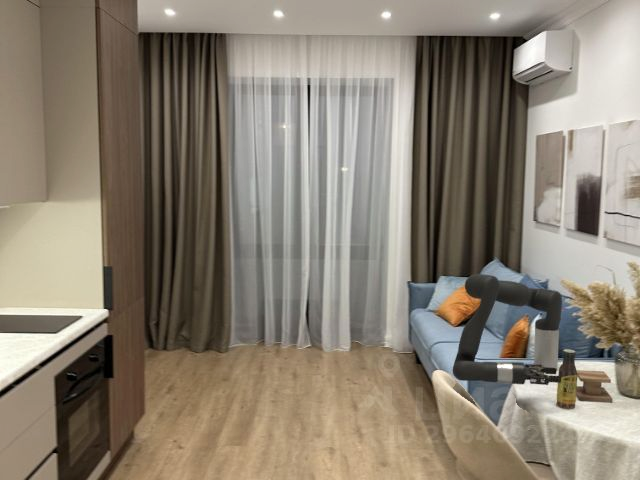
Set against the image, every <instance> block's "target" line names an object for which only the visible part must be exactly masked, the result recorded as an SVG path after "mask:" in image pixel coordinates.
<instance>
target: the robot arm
mask: <svg viewBox="0 0 640 480" xmlns="http://www.w3.org/2000/svg"><path fill="white" fill-rule="evenodd" d="M464 288H465V293H466V294H467V295H468V296H469V297H471V298H472V299H476V300H480V303H479V306H478V307H477V309H476V311H475V313H474V314H473V315H472V317H471V318H470V319H469V320H468V321H467V322H466V323H465V325H464V327H463V329H462V331H461V336H460V338H459V344H458V350H457V353H456V355H455V359H454V363H453V367H452V374H453V376H454V378H455V379H457V380H459V381H463V382H466V381H467V382H472V381H473V382H475V381H476V382H477V381H478V382H479V381H481V382H485V383H499V384H506V385H507V384H511V385H525V382H526V381H529V384H530V385H543V386H548V385H549V384H550V383H557V384H558V383H560V382H561V376H558V375H556V374H557V371H558V367H559V366H558V361H559V337H560V336H559V333H560V331H559V330H560V329H559V328H560V323H561V319H562V307H563V296H562V294H561V293H560V292H559V291H558V290H552V289H547V288H536V287H535V288H534V287H533V288H531V287H529V286H527V285H526V284H524V283H521V282H518V281H512V280H500V279H498V277H496V275H495V276H494V275H490V274H481V273H474V274H472V275H470V276H468V277H467V278H466V280H465V283H464ZM496 302H499V303H501V304H505V305H508V306H513V307H524V306H526V307H529V308H531V309H533V310H537V311H539V312H544V313H545V314H546V315H545V317H544V318H539V319H536V320H535V322H534V348H533V349H534V351H533V352H534V353H533V354H534V355H533V363H531V364H529V363H528V364H527V363H526V364H525V363H524V362H517V361H516V362H515V361H513V362H512V361H497V362H496V361H475V359H476V356H477V354H478V352H479V348H480V344H481V340H482V336H483V332H484V330H485V327H486V324H487V322H488V320H489V317H490V315H491V313H492V310H493V308H494V305H495V303H496Z"/></svg>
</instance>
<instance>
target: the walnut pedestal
mask: <svg viewBox="0 0 640 480" xmlns="http://www.w3.org/2000/svg"><path fill="white" fill-rule="evenodd" d="M576 371H577V379H578V380H579V381H580V382H582V386H579V385H577V390H576V399H577V400H578V402H595V403H597V402H598V403H609V404H610V403H613V397H612V396H611V395H610V393H609V392H608V391H607V390H606V388H605V387H602V383H604V384H605V383H606V384H611V383H612V380H611V378H610V376H608V374H606V372H605V371H603V370H602V371H601V370H585V369H584V370H583V369H576Z"/></svg>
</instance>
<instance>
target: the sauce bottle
mask: <svg viewBox="0 0 640 480" xmlns="http://www.w3.org/2000/svg"><path fill="white" fill-rule="evenodd" d="M576 353H577V352H576V350H573V349H569V348H568V349H567V348H565V349H563V350H562V354H563V357H562V359H563V360H562V363H561V365H560V366H559V368H558V375H557V376H561V382H560V383H557V388H556V405H557V407H560V408H564V409H574V408H575V406H576V402H577V396H576V390H577V386H578V377H577V371H576V370H577V367H576V364H575V363H576V362H575V359H576V356H577V355H576Z"/></svg>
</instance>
